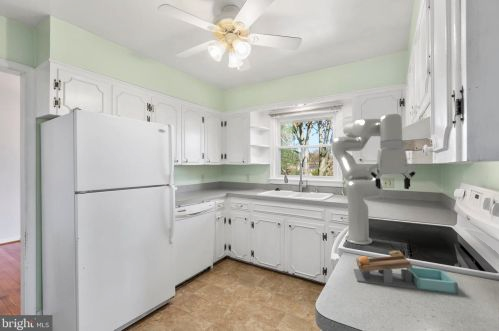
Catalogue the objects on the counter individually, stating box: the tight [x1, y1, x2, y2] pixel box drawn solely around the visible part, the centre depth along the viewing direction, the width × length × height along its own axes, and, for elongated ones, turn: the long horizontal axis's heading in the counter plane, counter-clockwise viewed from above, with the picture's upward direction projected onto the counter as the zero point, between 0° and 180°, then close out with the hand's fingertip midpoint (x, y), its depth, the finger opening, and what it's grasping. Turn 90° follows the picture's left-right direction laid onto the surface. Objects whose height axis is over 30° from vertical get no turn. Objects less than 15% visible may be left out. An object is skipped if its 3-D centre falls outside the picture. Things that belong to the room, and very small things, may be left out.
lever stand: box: [353, 268, 418, 290], centre depth 80 cm, size 9×17×5 cm, turn 73°
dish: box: [406, 266, 459, 295], centre depth 76 cm, size 9×10×3 cm
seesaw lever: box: [355, 250, 413, 272], centre depth 83 cm, size 13×16×3 cm
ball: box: [358, 255, 369, 265], centre depth 82 cm, size 3×3×3 cm
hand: (392, 188), depth 92 cm, fingers open, 9 cm apart
